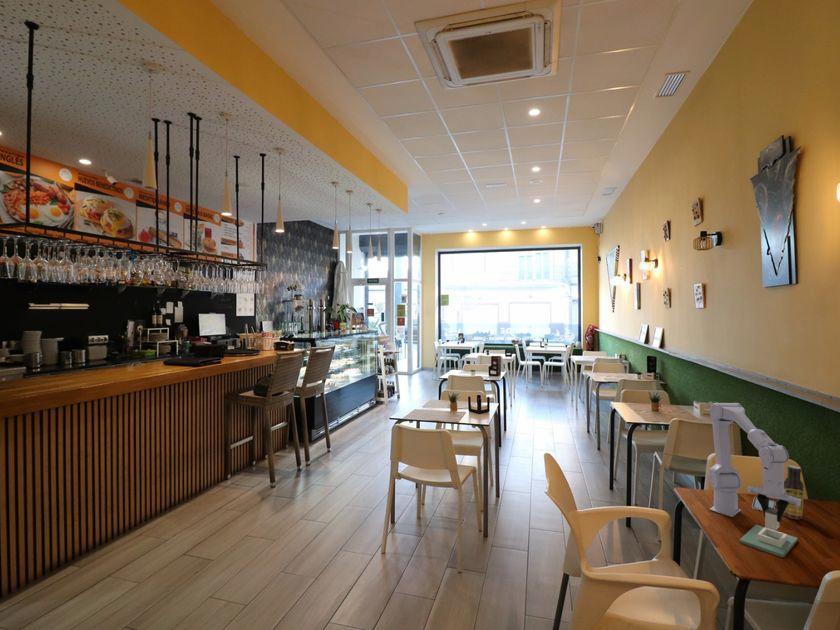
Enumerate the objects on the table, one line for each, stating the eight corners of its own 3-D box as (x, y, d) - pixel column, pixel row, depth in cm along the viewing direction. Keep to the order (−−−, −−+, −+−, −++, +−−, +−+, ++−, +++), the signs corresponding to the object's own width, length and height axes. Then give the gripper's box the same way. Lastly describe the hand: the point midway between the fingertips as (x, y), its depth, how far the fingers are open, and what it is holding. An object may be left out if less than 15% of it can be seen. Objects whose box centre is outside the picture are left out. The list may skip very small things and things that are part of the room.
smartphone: (776, 501, 185) (774, 512, 174) (776, 503, 185) (774, 515, 174) (754, 496, 190) (751, 506, 179) (754, 498, 190) (751, 509, 179)
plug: (768, 523, 154) (768, 506, 154) (779, 527, 152) (779, 509, 152) (765, 527, 152) (765, 509, 152) (775, 530, 149) (776, 512, 149)
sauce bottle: (783, 518, 170) (784, 467, 170) (779, 511, 176) (780, 462, 176) (805, 522, 167) (806, 470, 167) (800, 515, 173) (801, 465, 173)
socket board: (755, 527, 163) (756, 519, 163) (797, 540, 153) (797, 532, 153) (739, 542, 152) (739, 533, 152) (783, 557, 142) (783, 548, 142)
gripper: (744, 476, 155) (744, 514, 155) (797, 489, 144) (796, 530, 144) (751, 472, 160) (750, 509, 160) (802, 484, 148) (802, 524, 148)
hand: (772, 519), depth 152 cm, fingers closed on plug, 3 cm apart
